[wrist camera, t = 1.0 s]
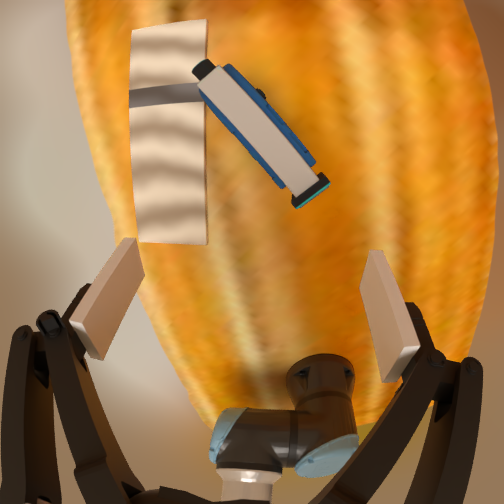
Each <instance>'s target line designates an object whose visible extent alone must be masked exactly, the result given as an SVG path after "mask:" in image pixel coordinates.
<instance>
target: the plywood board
mask: <svg viewBox="0 0 504 504" xmlns="http://www.w3.org/2000/svg"><path fill="white" fill-rule="evenodd" d="M207 34H208V21H207V19H201V20H192V21H183V22H176V23H169V24H163V25H157V26H152V27H146V28H141V29H137V30H132V38H131V55H130V85H129V116H130V147H131V165H132V179H133V191H134V202H135V211H136V220H137V229H138V237H139V242H151V243H173V244H193V245H207V243H208V230H207V198H206V103H205V101H204V100H203V99H202V97H201V95H200V93H199V87H198V86H197V84H198V82H199V80H198V79H197V78H196V77H195V76H194V75H193V74H192V69H193V68H194V67H195V66H196V65H197V64H198V63H199V62H200V61H202V60H204V59H207Z"/></svg>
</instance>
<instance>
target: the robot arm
mask: <svg viewBox="0 0 504 504" xmlns="http://www.w3.org/2000/svg"><path fill="white" fill-rule="evenodd" d="M144 276H145V274H144V270H143V266H142V262H141V258H140V254H139V250H138V245H137V241H136V238H124V239H123V240H122V242H121V243H120V244H119V246H118V247H117V248H116V250H115V251H114V253H113V254H112V255H111V257H110V258H109V260H108V261H107V263H106V264H105V266H104V267H103V268H102V270H101V271H100V273H99V274H98V276H97V277H96V279H95V280H94V282H93V283H92V284H89V283H87V284H86V285H85V286H83V287H82V288H81V289H80V290H79V292H78V293H77V295H76V297H75V298H74V299H73V301H72V303H71V304H70V305H69V307H68V308H67V310H66V312H65V313H64V315H63V316H62V318H60V316H59V314H58V312H57V311H55V310H47V311H45V312H43V313H42V314H41V315H39V317H38V319H37V321H36V326H37V327H38V329H39V330H40V332H33V330H32V329H31V327H30V326H28V325H24V326H21V327H19V328H18V329H17V330H16V331H15V332H14V334H13V336H12V341H11V347H10V352H9V358H8V364H7V370H6V377H5V385H4V394H3V405H2V406H3V407H2V421H1V467H2V483H1V488H0V504H62V498H61V488H60V481H59V474H58V466H57V458H56V447H55V433H54V409H53V392H54V396H55V400H56V404H57V408H58V412H59V415H60V419H61V422H62V425H63V429H64V432H65V435H66V438H67V441H68V444H69V447H70V450H71V453H72V455H73V458H74V461H75V464H76V468H75V469H74V476H75V479H76V481H77V484H78V486H79V489H80V491H81V493H82V495H83V497H84V499H85V502H86V504H271V502H272V487H273V483H274V482H276V481H277V480H278V479H279V478H280V477H282V468H283V467H289V468H290V467H292V468H293V467H294V468H295V471H296V473H297V474H298V475H299V476H302V477H304V476H305V477H307V478H314V477H322V476H327V475H331V474H334V473H337V472H338V473H337V474H336V475H335V476H334V478H333V479H332V480H331V481H330V482H329V483H328V484H327V485H326V486H325V487H324V488H323V490H322V491H321V492H320V493H319V494H318V495H317V496H316V497H315V498H314V499H312V500H311V501H310V502H309V503H308V504H367V502H368V501H369V499H370V498H371V497H372V496H373V494H374V493H375V492H376V490H377V489H378V488H379V486H380V485H381V484H382V482H383V481H384V479H385V478H386V477H387V475H388V474H389V472H390V471H391V469H392V468H393V466H394V465H395V463H396V461H397V460H398V458H399V457H400V456H401V454H402V452H403V451H404V449H405V447H406V446H407V444H408V443H409V441H410V439H411V437H412V436H413V434H414V432H415V430H416V429H417V427H418V425H419V423H420V421H421V420H422V418H423V416H424V414H425V412H426V410H427V408H428V406H429V404H430V402H431V400H434V405H433V410H432V415H431V419H430V423H429V427H428V432H427V436H426V439H425V443H424V446H423V450H422V453H421V457H420V460H419V463H418V466H417V469H416V473H415V475H414V478H413V481H412V484H411V487H410V489H409V492H408V495H407V497H406V500H405V503H404V504H463V500H464V497H465V493H466V490H467V486H468V482H469V478H470V474H471V469H472V464H473V460H474V455H475V448H476V443H477V437H478V430H479V422H480V413H481V403H482V388H483V368H482V365H481V363H480V362H479V361H478V360H477V359H475V358H473V357H466V358H464V359H463V360H462V362H461V363H459V362H454V361H450V360H447V359H446V357H445V356H444V354H443V353H442V352H440V351H439V350H436V349H435V347H434V344H433V342H432V339H431V336H430V334H429V331H428V329H427V326H426V323H425V321H424V319H423V316H422V314H421V311H420V309H419V308H418V307H417V306H416V305H415V304H414V302H404V300H403V297H402V295H401V292H400V290H399V287H398V285H397V283H396V280H395V278H394V276H393V273H392V271H391V269H390V266H389V264H388V262H387V260H386V257H385V255H384V253H383V251H382V250H370V251H369V255H368V259H367V262H366V266H365V269H364V273H363V276H362V280H361V283H360V286H359V289H360V292H361V296H362V300H363V303H364V307H365V311H366V315H367V319H368V323H369V327H370V331H371V335H372V339H373V343H374V348H375V352H376V357H377V361H378V366H379V371H380V376H381V380H382V383H388V382H397V380H398V379H399V378H400V376H401V375H402V379H403V383H402V384H401V386H400V387H399V388H398V390H397V391H396V392H395V393H396V394H395V395H394V397H393V399H392V400H391V402H390V403H389V405H388V406H387V408H386V409H385V411H384V412H383V414H382V415H381V417H380V418H379V420H378V421H377V423H376V424H375V425H374V427H373V428H372V430H371V431H370V432H369V434H368V435H367V436H366V438H365V439H364V441H363V442H362V443H361V445H360V446H359V444H358V441H359V436H358V434H357V428H356V422H355V417H354V412H353V406H352V401H351V398H352V393H353V388H354V383H355V374H354V370H353V366H352V365H351V363H350V362H349V361H348V360H346V359H345V358H343V357H341V356H337V355H332V354H320V355H314V356H310V357H307V358H305V359H302V360H301V361H299V362H297V363H296V364H295V365H293V366H292V367H291V369H290V370H289V372H288V374H287V377H286V387H287V391H288V393H289V396H290V398H291V400H292V402H293V404H294V407H295V410H268V409H253V408H249V407H246V408H227V409H225V410H224V411H222V413H221V414H220V415H219V417H218V419H217V422H216V424H215V427H214V430H213V434H212V438H211V442H210V446H211V447H210V451H209V459H210V461H211V462H213V463H215V464H217V468H216V472H217V473H218V474H219V475H220V476H221V478H222V479H223V489H222V497H221V501H219V502H211V501H208V500H205V499H203V498H201V497H198V496H196V495H193V494H191V493H188V492H186V491H182V490H177V489H172V488H167V487H163V486H160V488H159V489H155V490H149V491H145V489H144V487H143V486H142V484H141V483H140V481H139V480H138V479H137V478H136V477H135V475H134V474H133V472H132V471H131V469H130V467H129V465H128V463H127V461H126V459H125V457H124V455H123V453H122V451H121V449H120V447H119V445H118V443H117V441H116V438H115V436H114V434H113V432H112V429H111V427H110V425H109V422H108V420H107V418H106V415H105V413H104V410H103V408H102V405H101V402H100V400H99V398H98V395H97V392H96V389H95V386H94V383H93V381H92V378H91V375H90V372H89V369H88V365H87V363H86V360H85V358H84V354H85V352H86V351H87V352H88V354H89V356H90V357H91V358H94V359H98V360H102V361H103V360H104V358H105V355H106V353H107V351H108V349H109V346H110V345H111V342H112V340H113V338H114V336H115V334H116V332H117V330H118V328H119V326H120V323H121V321H122V319H123V317H124V315H125V313H126V311H127V309H128V307H129V305H130V303H131V301H132V299H133V297H134V295H135V293H136V292H137V290H138V288H139V286H140V284H141V282H142V280H143V278H144Z"/></svg>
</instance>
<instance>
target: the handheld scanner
mask: <svg viewBox="0 0 504 504" xmlns="http://www.w3.org/2000/svg"><path fill="white" fill-rule="evenodd" d="M192 74H193V75H194V76H195V77H196V78H197V79H198V80H199V82H198V84H197V86H198V87H199V93H200V95H201V97H202V99H203V100H204V101H205V103H206V104H207V105H208V107H209V108H210V109H211V110H212V111H213V113H214V114H215V115H216V116H217V117H218V119H219V120H220V121H221V122H222V123H223V124H224V125H225V126H226V127H227V129H228V130H229V131H230V132H231V133H233V134H234V135H235V136H236V137H237V139H238V140H239V141H240V142H241V143H242V144H243V145H244V146H245V148H246V149H247V150H248V151H249V153H250V154H251V155H252V157H253V158H254V159H255V160H257V161H258V162H259V164H260V165H261V166H262V167H263V168H264V169H265V170H266V172H267V173H268V174H269V175H270V176H271V177H272V180H273V181H274V182H275V183H276V184H277V185H278V186H279V187H280V189H283V188H284V187H286V186H287V187H288V188H289V190H290V191H291V192H292V193H293V194H292V200H291V203H292V205H293V206H294V207H295V208H296V209H298V208H301V207H303V206H304V205H305V204H307V203H308V202H309V201H311V200H312V199H313V198H315V197H316V196H317V195H319V194H320V193H321V192H323V191H324V190H325V189H327V188H328V187H329V185H330V184H331V183H330V181H329V180H328V178H327V177H326V176H325V175H324V174H323V173H322V172H320V173H319V174H318V175H316V174H315V173H314V171H313V170H312V169H311V168H310V167H312V166H313V165H314V164H315V163H316V161H315V159H314V158H313V157H312V155H311V154H310V153H309V151H308V150H307V149H306V147H305V146H304V145H303V144H302V142H301V141H300V140H299V139H298V138H297V136H296V135H295V134H294V133H293V131H292V130H291V129H290V128H289V127H288V126H287V124H286V123H285V122H284V121H283V120H282V119H281V117H280V116H279V115H278V114H277V113H276V112H275V110H274V109H273V108H272V107H271V106H270V105H269V104H268V103H267V101H266V100H265V99H266V97H265V94H264V93H263V92H262V91H261V90H260V89H258V88H257V89H255V88H254V87H253V86H252V85H251V84H250V83H249V82H248V81H247V80H246V79H245V78H244V77H243V76H242V75H241V74H240V73H239V72H238V71H237V70H236V69H235V68H234V67H233V66H232V65H231V64H226V65H225V66H224V67H223V68H222V67H221V66H220V65H217V66H215V65H214V64H213V63H212V62H211V61H210V60H209V59H204V60H202V61H200V62H199V63H198V64H197V65H196V66H195V67H194V68H193V69H192Z"/></svg>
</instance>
